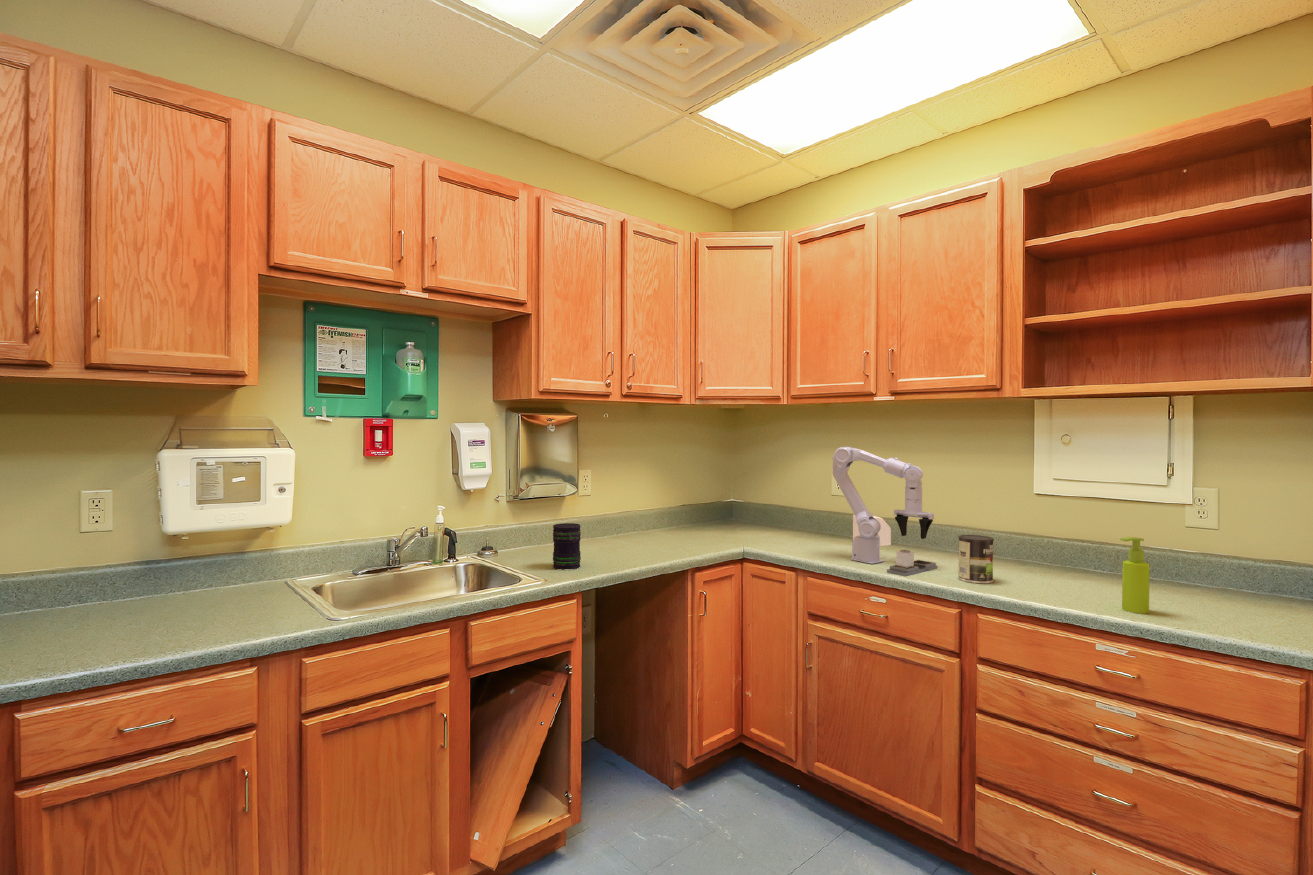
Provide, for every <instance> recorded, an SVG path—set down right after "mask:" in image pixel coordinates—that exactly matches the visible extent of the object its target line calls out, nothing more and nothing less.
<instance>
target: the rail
mask: <svg viewBox="0 0 1313 875" xmlns="http://www.w3.org/2000/svg"><path fill="white" fill-rule="evenodd" d="M936 569H938V565H937V562H934V561H933V562H932V561H928V560H921V559H916V560H914V568H909V569H904V568H899V567H897V564H894V565H892V564H891V565H889V568H887V569H886V573H888V574H894V575H898V576H903V577H907V576H912V575H915V574H916V575H917V574H920V573H924V572H928V571H929V572H930V571H933V570H936Z"/></svg>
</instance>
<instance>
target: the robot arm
mask: <svg viewBox="0 0 1313 875" xmlns="http://www.w3.org/2000/svg"><path fill="white" fill-rule="evenodd" d="M857 461H863V462H866V463H869V464H872V465H875V466H877V467H881V468H883V471H884V472H885V473H886V474H889V475H892V476H894V477H897V478H900V479H904V480H905V487H904V490H905V491H904V499H905V500H904V509H894V510H893V515H894V516H895V517H894V519H895V521H896V523H897V525H898V527H899V532H900V534H901V536H902V537H905V536H907V535H908V534H907V533H908V532H907V531H908V530H907V529H908V520H909V517H912V518H919V519H918V521H919V526H920V527H919V528H920V539H921V540H924V539H927V535H928V530H930V526H931V525H932V523H933V522H934V520H935V513H932V512H927V511H923V486H922V485H923V480H922V479H923V477H924V472H923V469H922V468H920V467H919V466H918V465H912V463H910V462H908V463H907V462H904V461H901V460H899V458H898V457H894V458H893V457H889V458H887V459H886V458H883V457H880V456H878V455H875V454H873V453H871V452H868V451H866V450H863V449H860V448H857V447H856V448H855V447H853V446H841V447H838V448H837V449H836V450H835V451H834V453H833V455H832V476H833V477H834V480H835V481H836V484H837V485H838V486H839V489H840V491H841V492H842V494H843V496H844V498H845V500H846V501H847V503H848V505H849V507H850V509H851V511H852V513H853V515H855V516H856V522H857V524H858V530H859V533H860V535H859V536H856V537H855V538H854V539H853V538H852V546H851V548H852V551H851V556H852V557H851V558H850V560H851V561H855V562H862V563H866V564H871V565H872V564H873V565H874V564H877V563H883V562H885V559H882V558H880V555H881V551H880V549H881V546H880V536H879V535H878V532H879V531H880V528H881V526H880V523H879V521H878V520H876V519H875V518H874V517H873V516H874V515H873V514H872V513H871V512H870V510H868V508H867V506H866V504H865V503H864V501H863V499H862V497H861V495H860V493H859V491H858V490H857V488H856V486H855V485H854V482H853V481H852V479H851V477H850V476H849V474H848V472H849V469H850V466H851V465H852V464H853V462H857Z"/></svg>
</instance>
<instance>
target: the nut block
mask: <svg viewBox="0 0 1313 875" xmlns="http://www.w3.org/2000/svg"><path fill="white" fill-rule="evenodd" d="M914 558H915V555H914V551H911V550H908V549H900V550H896V565H897V567H899V568H904V569H909V568H914V561H915V560H914Z"/></svg>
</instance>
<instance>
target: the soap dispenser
mask: <svg viewBox="0 0 1313 875" xmlns="http://www.w3.org/2000/svg"><path fill="white" fill-rule="evenodd" d="M1119 540H1120V541H1123V542H1131V541H1132V542H1131V543H1132V547H1130V548H1129V549H1128V558H1127V560H1123V561H1122V569H1121V570H1122V576H1121V577H1122V581H1121V583H1122V584H1121V585H1122V586H1121V587H1122V588H1121V589H1122V591H1121V593H1122V594H1121V603H1122V604H1121V610H1122V611H1125V612H1128V611H1129V612H1128V613H1132V612H1133V613H1132V614H1141V615H1143V614H1144V615H1145V614H1146V613H1147V614H1149V613H1150V577H1151V576H1150V570H1151V568H1150V566H1151V565H1150V563H1149V562H1146V561H1144V559H1145V551H1144V550H1143V549H1142V548H1141V541H1142V542H1144V541H1145V539H1144V538H1142V537H1137V536H1135V537H1134V536H1126V537H1122V538H1120V539H1119Z"/></svg>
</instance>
